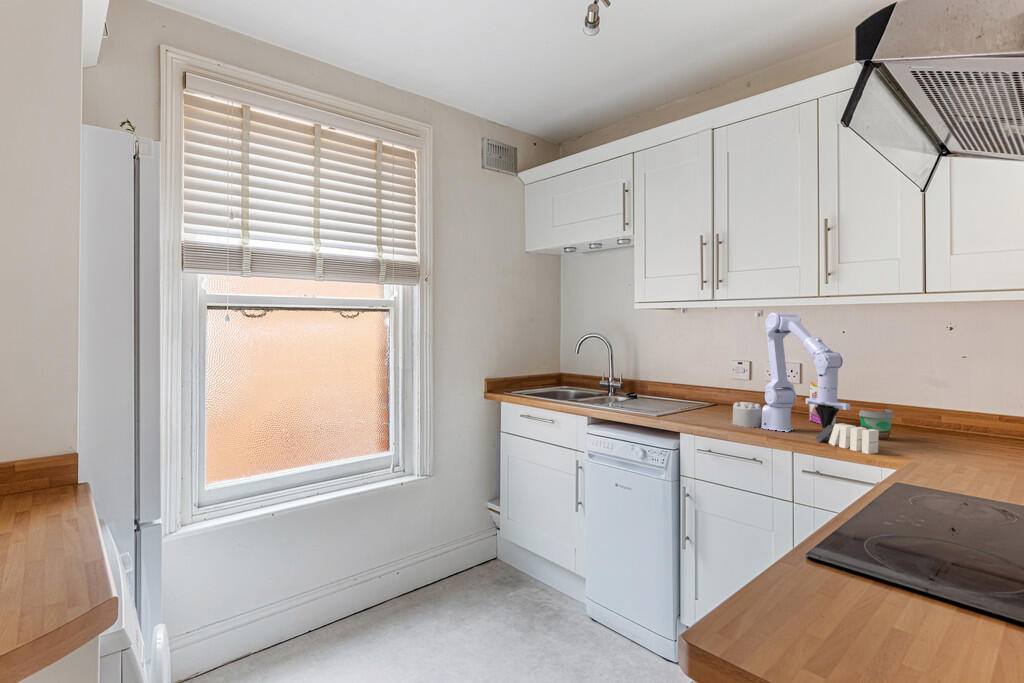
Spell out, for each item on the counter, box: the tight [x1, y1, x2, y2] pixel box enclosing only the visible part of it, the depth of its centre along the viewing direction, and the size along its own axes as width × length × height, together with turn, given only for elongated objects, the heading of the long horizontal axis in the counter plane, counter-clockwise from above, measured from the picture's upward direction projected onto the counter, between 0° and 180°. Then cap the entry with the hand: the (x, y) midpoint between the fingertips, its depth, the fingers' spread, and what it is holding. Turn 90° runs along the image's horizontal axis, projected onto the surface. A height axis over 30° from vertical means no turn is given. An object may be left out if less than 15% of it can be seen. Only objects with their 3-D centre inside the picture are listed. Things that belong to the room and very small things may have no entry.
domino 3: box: [849, 426, 867, 452], centre depth 161 cm, size 2×4×7 cm, turn 111°
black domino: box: [815, 425, 834, 443], centre depth 171 cm, size 2×4×7 cm
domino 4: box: [861, 429, 879, 455], centre depth 158 cm, size 2×4×7 cm, turn 111°
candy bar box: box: [808, 381, 837, 425], centre depth 206 cm, size 11×5×16 cm, turn 179°
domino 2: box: [838, 424, 857, 449], centre depth 165 cm, size 2×4×7 cm, turn 111°
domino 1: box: [828, 422, 848, 447], centre depth 167 cm, size 2×4×7 cm, turn 111°
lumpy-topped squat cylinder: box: [732, 401, 763, 428], centre depth 202 cm, size 10×13×9 cm
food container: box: [858, 408, 895, 441], centre depth 177 cm, size 12×6×10 cm, turn 105°
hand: (826, 428), depth 171 cm, fingers closed
